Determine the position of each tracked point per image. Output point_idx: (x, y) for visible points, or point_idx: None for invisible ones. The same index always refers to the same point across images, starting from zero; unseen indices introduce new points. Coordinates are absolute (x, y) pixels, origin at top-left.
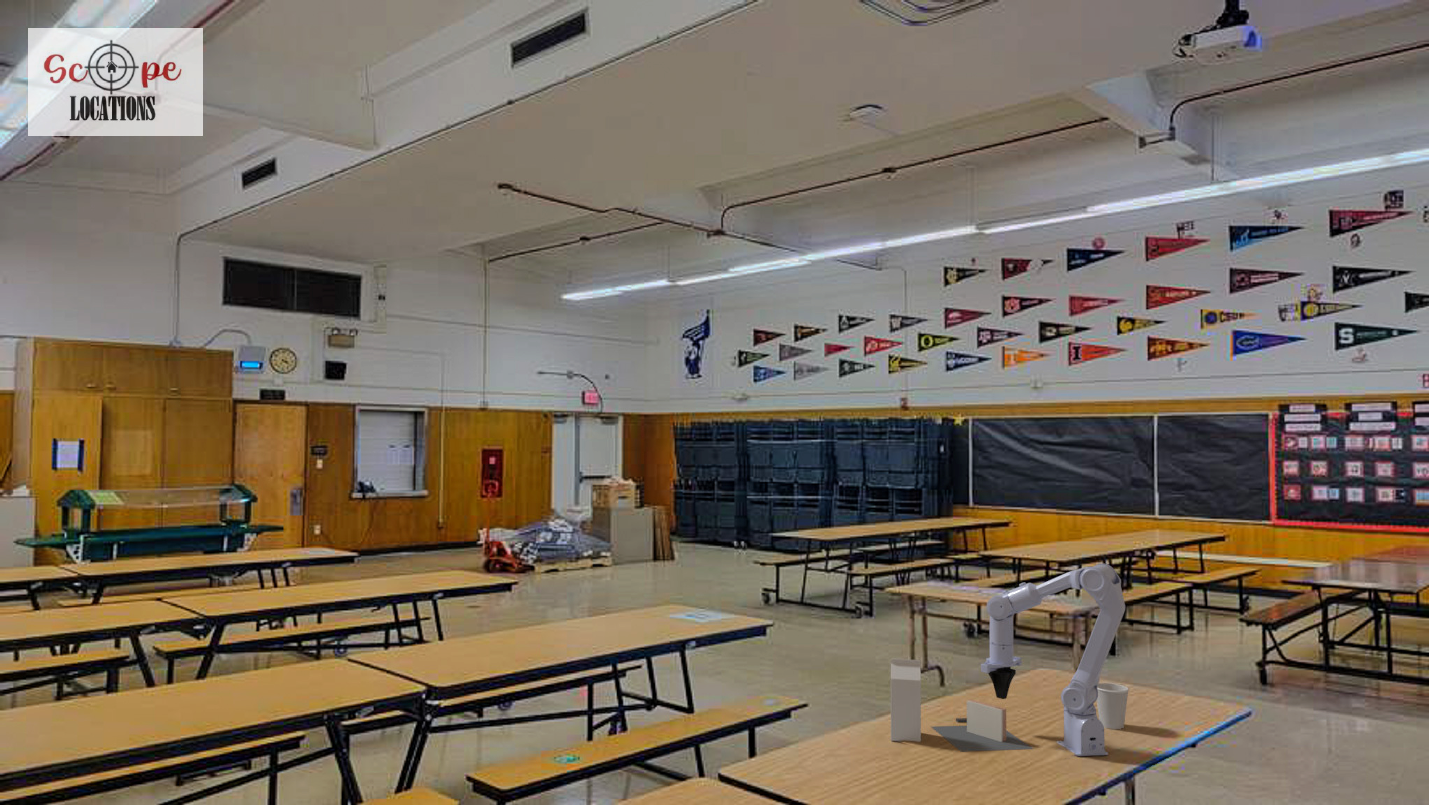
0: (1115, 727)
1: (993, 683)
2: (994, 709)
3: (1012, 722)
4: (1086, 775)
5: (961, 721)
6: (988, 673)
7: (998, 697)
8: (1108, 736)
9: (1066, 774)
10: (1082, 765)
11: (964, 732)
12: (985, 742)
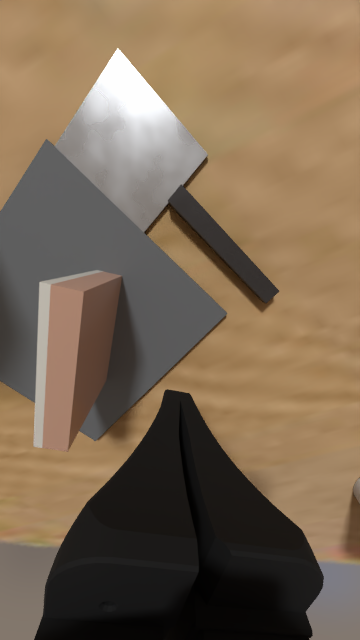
0: (357, 499)
1: (142, 440)
2: (36, 418)
3: (292, 327)
4: (44, 526)
5: (176, 211)
6: (95, 498)
7: (162, 400)
8: (298, 497)
9: (19, 508)
10: None
11: (81, 268)
12: None
